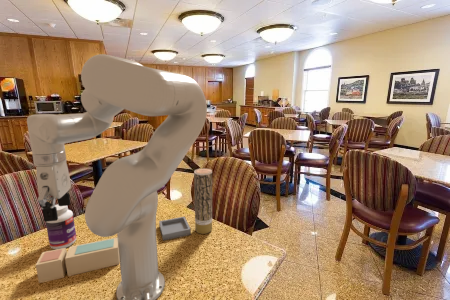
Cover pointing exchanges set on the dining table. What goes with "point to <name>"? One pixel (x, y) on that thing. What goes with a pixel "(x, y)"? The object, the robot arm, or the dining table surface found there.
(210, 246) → the dining table surface
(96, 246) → the beige rectangular block
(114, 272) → the dining table surface
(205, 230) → the bark textured cylinder
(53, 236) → the pill bottle
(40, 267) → the stub
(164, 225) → the tray
